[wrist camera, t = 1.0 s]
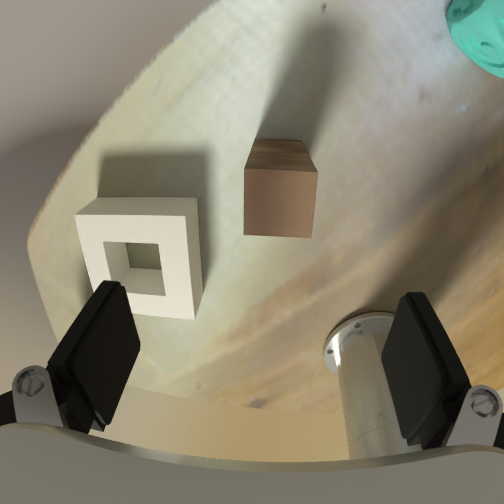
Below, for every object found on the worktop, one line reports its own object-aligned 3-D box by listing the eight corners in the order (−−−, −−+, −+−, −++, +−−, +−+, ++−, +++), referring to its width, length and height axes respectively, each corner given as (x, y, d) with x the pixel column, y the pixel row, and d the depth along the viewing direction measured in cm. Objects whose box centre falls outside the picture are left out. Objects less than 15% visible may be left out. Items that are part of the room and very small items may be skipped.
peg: (301, 140, 29) (318, 172, 19) (298, 184, 31) (311, 238, 21) (255, 138, 29) (244, 168, 19) (254, 182, 31) (243, 234, 21)
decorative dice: (509, 33, 19) (554, 32, 12) (487, 78, 23) (533, 84, 16) (461, -16, 18) (502, -31, 11) (435, 28, 22) (477, 18, 15)
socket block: (197, 197, 32) (185, 216, 28) (203, 292, 38) (194, 319, 34) (96, 197, 33) (74, 214, 29) (114, 285, 39) (98, 308, 34)
